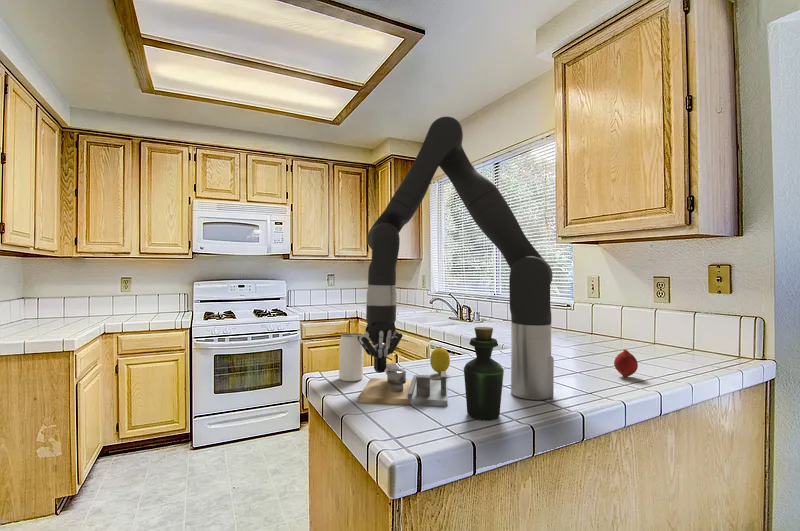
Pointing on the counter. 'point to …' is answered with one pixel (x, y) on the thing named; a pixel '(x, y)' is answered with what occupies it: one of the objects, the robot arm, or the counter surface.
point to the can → (350, 358)
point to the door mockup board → (407, 391)
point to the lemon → (439, 360)
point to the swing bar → (395, 374)
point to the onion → (625, 363)
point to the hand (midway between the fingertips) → (379, 371)
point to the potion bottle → (483, 378)
